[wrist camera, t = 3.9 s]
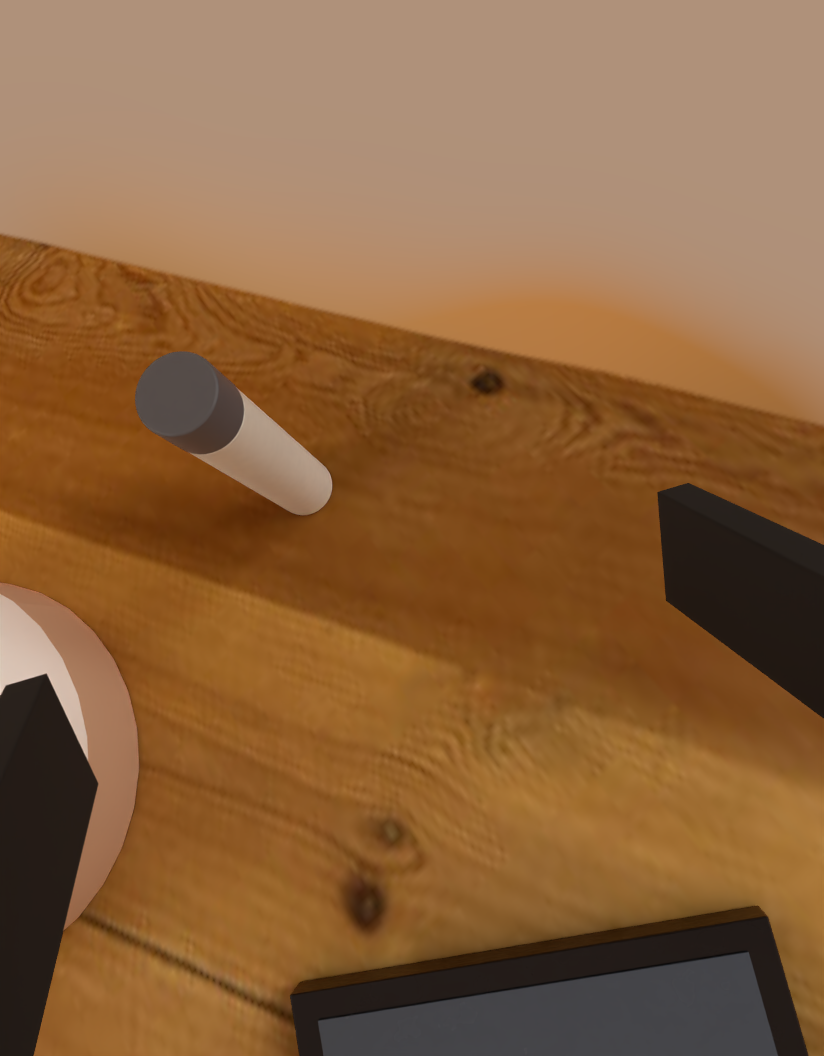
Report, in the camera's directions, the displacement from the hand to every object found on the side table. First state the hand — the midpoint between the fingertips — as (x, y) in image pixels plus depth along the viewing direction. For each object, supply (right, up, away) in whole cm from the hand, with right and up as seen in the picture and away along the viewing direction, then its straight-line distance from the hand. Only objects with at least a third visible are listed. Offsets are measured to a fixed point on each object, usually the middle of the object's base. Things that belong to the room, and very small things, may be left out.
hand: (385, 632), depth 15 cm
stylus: (-4, +4, +18) cm, 19 cm away
